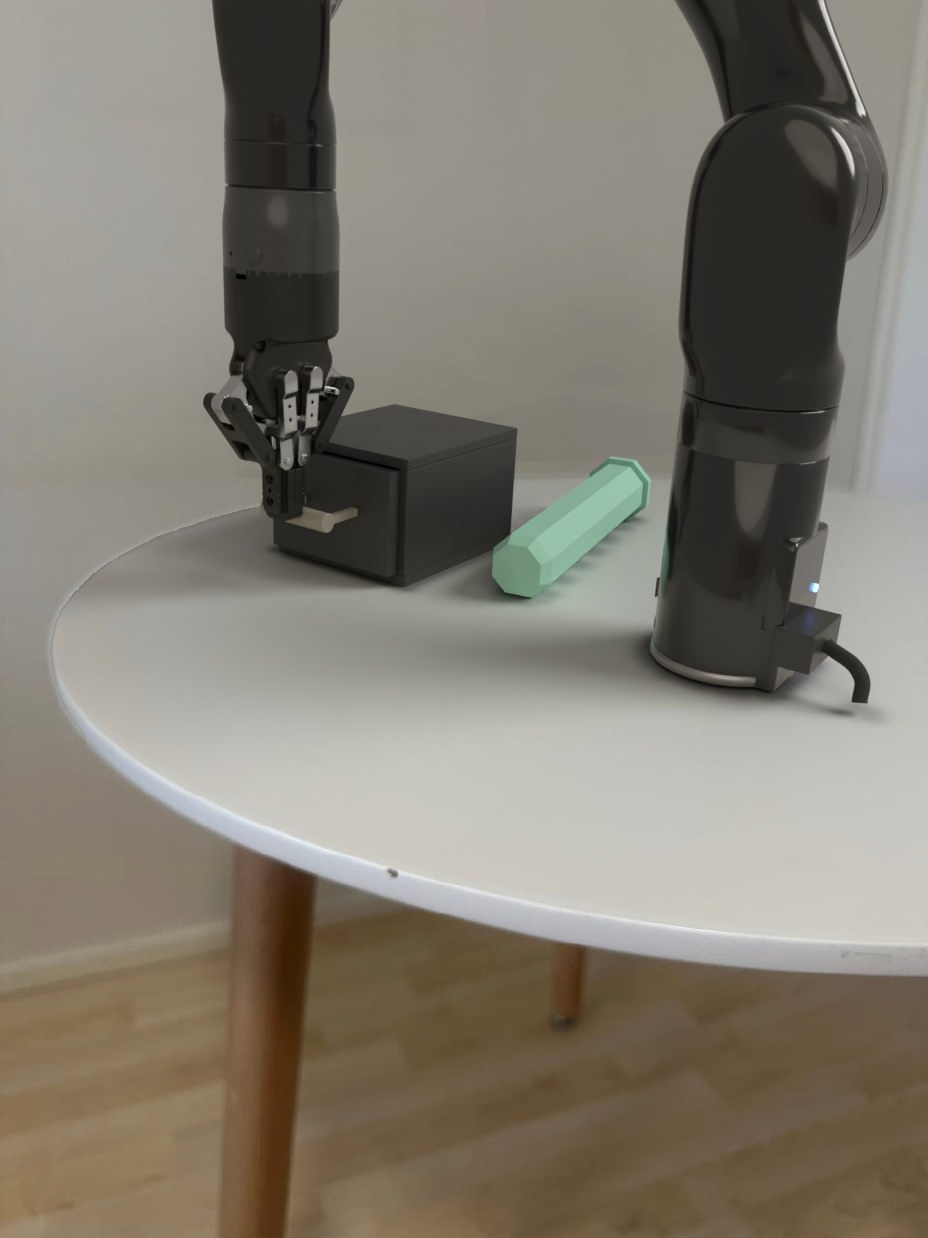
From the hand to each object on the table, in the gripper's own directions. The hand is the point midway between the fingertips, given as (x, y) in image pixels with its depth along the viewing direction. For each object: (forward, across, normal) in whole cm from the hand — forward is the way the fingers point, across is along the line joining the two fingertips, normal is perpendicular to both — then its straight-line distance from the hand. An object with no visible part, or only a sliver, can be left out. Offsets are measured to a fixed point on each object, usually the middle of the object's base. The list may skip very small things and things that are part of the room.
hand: (283, 517), depth 81 cm
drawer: (+5, -10, 0) cm, 11 cm away
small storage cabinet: (+5, -14, 0) cm, 15 cm away
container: (+6, -21, +12) cm, 25 cm away
